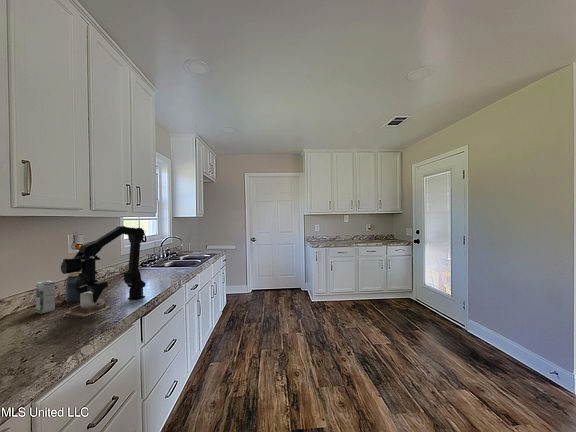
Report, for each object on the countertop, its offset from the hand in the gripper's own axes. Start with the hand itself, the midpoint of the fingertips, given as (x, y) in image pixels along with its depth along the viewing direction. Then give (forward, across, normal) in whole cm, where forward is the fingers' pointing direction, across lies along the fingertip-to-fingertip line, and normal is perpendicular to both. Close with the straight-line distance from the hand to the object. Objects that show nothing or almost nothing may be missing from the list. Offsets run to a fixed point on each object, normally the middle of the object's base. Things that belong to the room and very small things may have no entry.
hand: (88, 302), depth 136 cm
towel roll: (+4, 0, 0) cm, 4 cm away
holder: (+4, 0, 0) cm, 4 cm away
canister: (+4, -25, +13) cm, 29 cm away
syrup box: (+4, -20, -6) cm, 21 cm away
